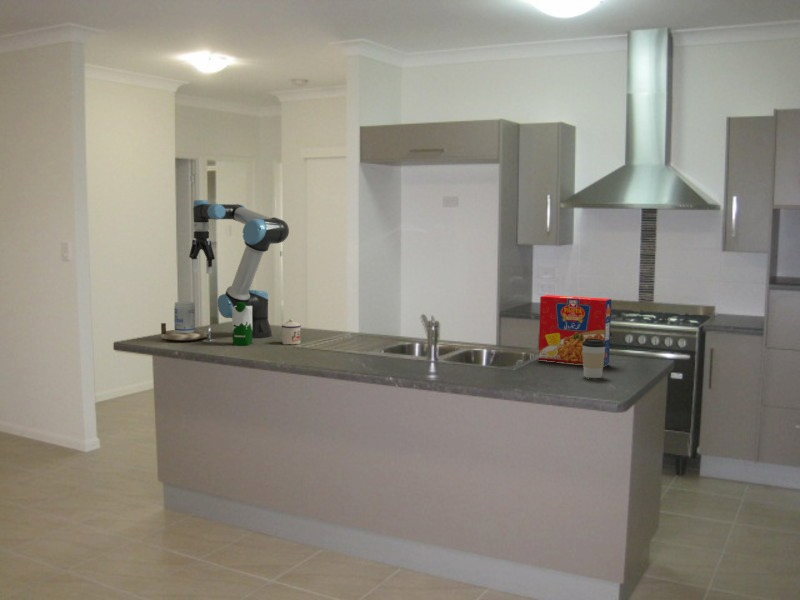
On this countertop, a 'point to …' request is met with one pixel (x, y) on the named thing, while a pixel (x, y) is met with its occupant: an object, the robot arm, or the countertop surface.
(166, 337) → the lazy susan platter
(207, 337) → the dial pointer stand
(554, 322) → the pasta box
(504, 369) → the countertop surface
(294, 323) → the teacup with lid
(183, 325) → the supplement tub
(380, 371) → the countertop surface
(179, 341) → the turntable base
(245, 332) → the milk carton
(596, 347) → the coffee cup
